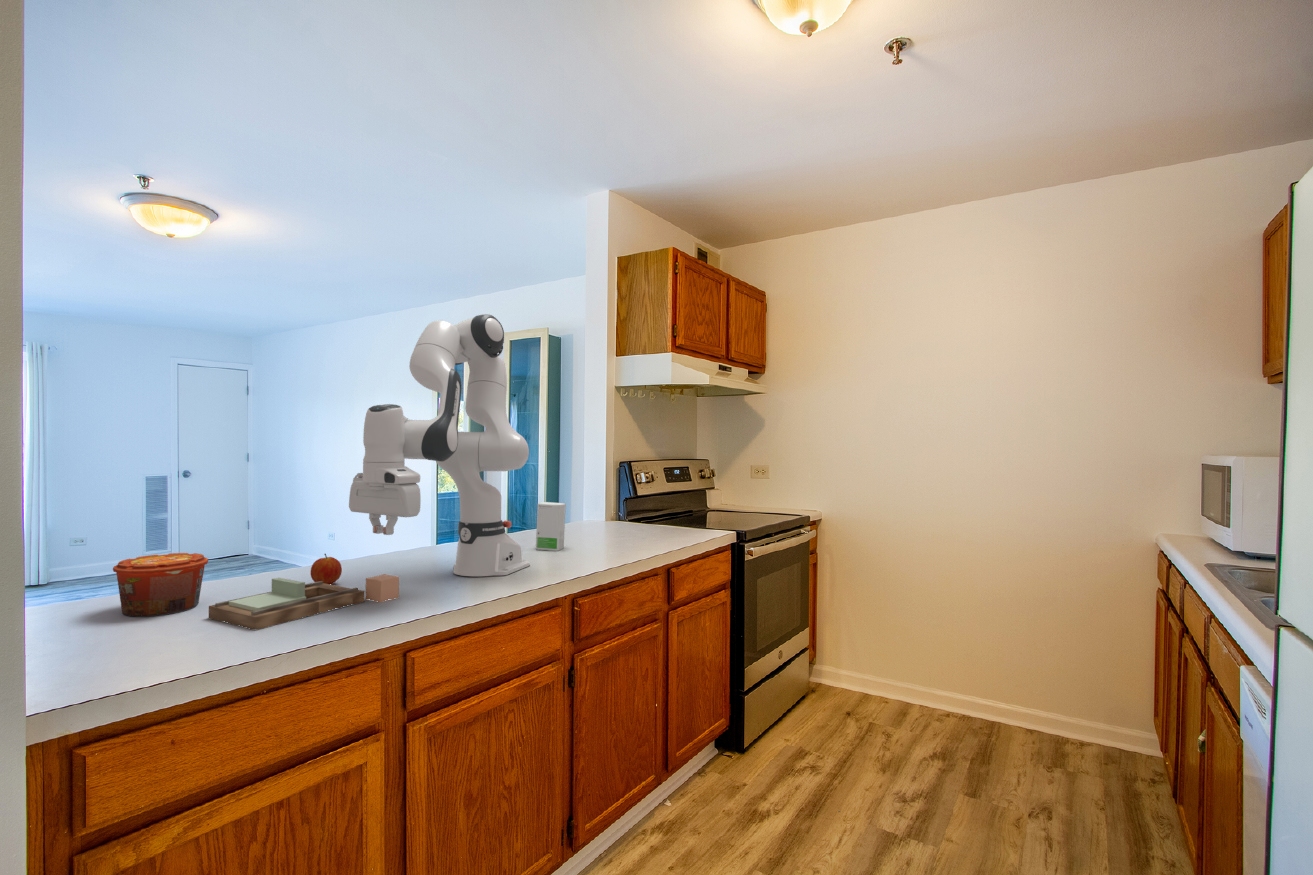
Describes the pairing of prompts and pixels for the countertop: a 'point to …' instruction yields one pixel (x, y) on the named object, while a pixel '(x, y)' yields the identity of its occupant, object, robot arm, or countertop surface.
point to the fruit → (326, 570)
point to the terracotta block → (382, 587)
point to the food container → (160, 583)
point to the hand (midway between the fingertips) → (383, 533)
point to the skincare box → (550, 526)
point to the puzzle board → (289, 606)
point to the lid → (274, 595)
